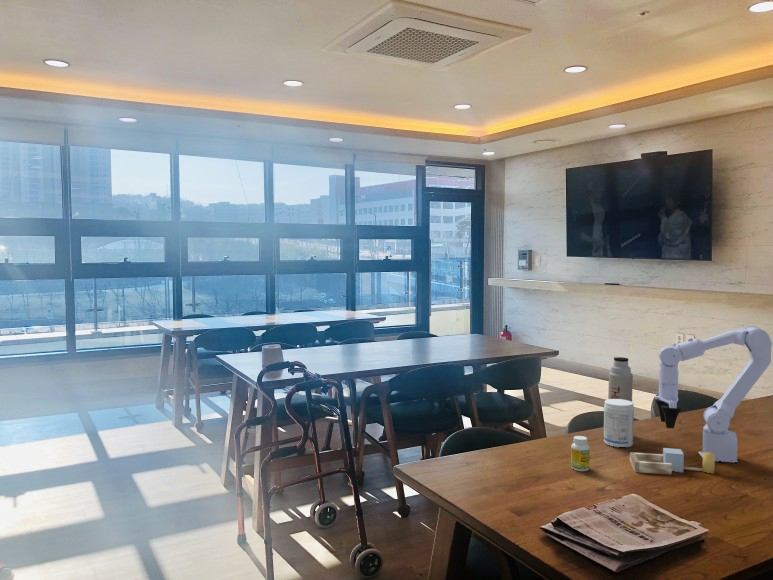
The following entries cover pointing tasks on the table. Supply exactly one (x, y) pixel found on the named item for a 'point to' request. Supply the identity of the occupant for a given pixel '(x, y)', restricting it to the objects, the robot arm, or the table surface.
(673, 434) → the table surface
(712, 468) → the corded block
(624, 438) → the supplement tub
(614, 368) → the thermos bottle
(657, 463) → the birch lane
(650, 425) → the table surface
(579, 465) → the supplement bottle
